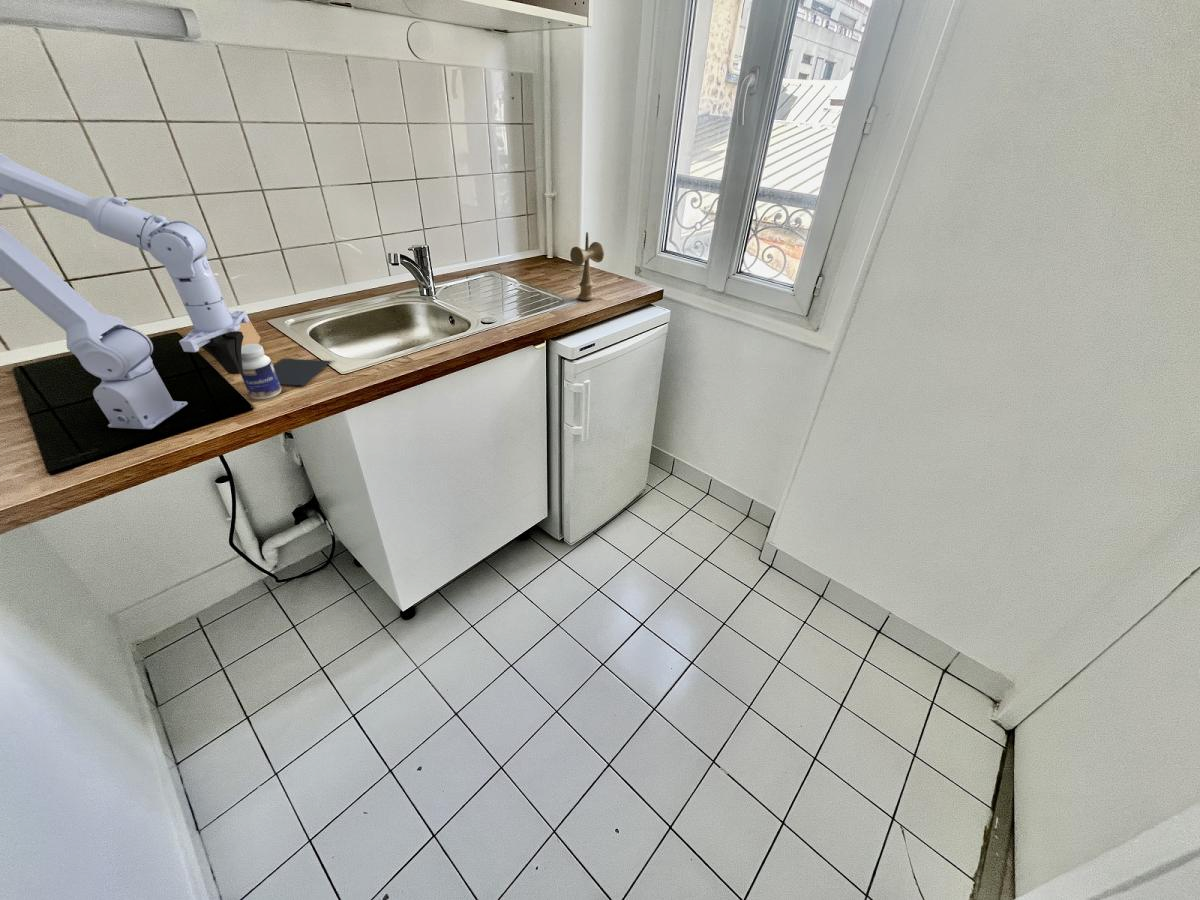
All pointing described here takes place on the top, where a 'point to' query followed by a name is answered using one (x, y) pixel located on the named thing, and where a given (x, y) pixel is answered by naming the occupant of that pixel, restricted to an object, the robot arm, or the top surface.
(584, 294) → the kendama
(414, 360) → the top surface
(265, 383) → the pill bottle
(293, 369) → the mat
